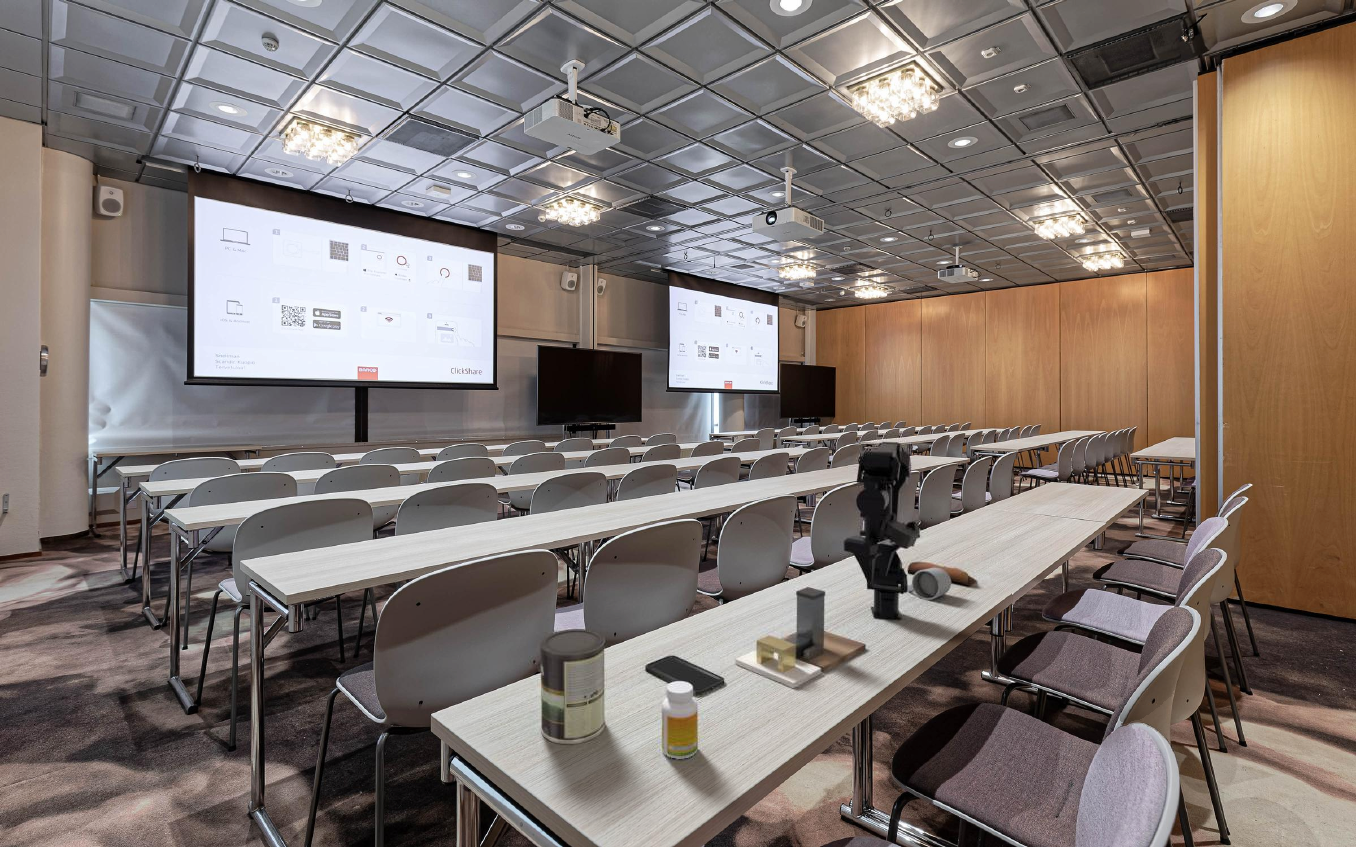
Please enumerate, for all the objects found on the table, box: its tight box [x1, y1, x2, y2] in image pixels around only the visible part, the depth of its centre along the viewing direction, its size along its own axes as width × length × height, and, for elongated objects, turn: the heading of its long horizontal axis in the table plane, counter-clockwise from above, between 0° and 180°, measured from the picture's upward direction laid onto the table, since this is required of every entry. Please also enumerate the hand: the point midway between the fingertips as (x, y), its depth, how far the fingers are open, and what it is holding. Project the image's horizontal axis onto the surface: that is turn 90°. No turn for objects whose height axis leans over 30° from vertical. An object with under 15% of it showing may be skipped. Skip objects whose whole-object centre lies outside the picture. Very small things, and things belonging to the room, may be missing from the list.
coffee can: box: [539, 628, 606, 745], centre depth 99 cm, size 10×10×14 cm
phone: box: [644, 654, 725, 697], centre depth 117 cm, size 8×1×15 cm
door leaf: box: [781, 630, 867, 673], centre depth 129 cm, size 16×14×1 cm
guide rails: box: [784, 635, 823, 661], centre depth 125 cm, size 5×7×2 cm
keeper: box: [755, 634, 796, 673], centre depth 119 cm, size 4×6×4 cm, turn 43°
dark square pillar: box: [786, 586, 826, 658], centre depth 125 cm, size 10×4×12 cm, turn 134°
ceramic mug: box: [907, 568, 952, 601], centre depth 164 cm, size 11×8×8 cm
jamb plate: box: [734, 649, 822, 689], centre depth 120 cm, size 9×14×1 cm, turn 44°
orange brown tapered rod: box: [907, 561, 978, 587], centre depth 180 cm, size 18×7×7 cm
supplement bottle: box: [661, 681, 699, 760], centre depth 92 cm, size 5×5×10 cm
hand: (876, 578), depth 135 cm, fingers open, 6 cm apart
